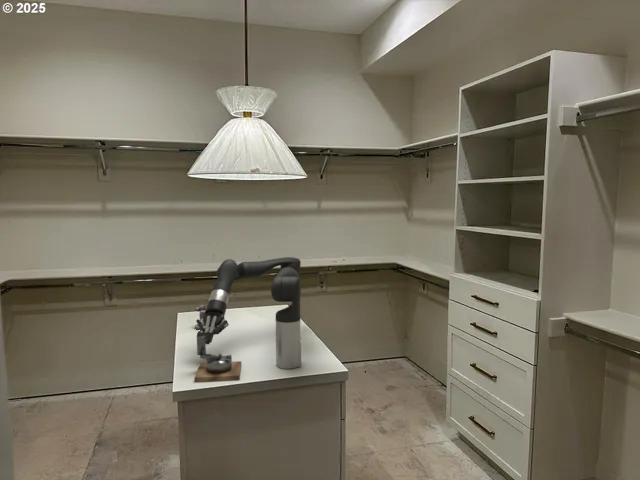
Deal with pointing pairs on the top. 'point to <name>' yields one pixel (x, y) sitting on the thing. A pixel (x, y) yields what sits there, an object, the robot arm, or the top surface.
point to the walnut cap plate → (228, 375)
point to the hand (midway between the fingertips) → (206, 343)
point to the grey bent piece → (212, 357)
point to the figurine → (201, 315)
